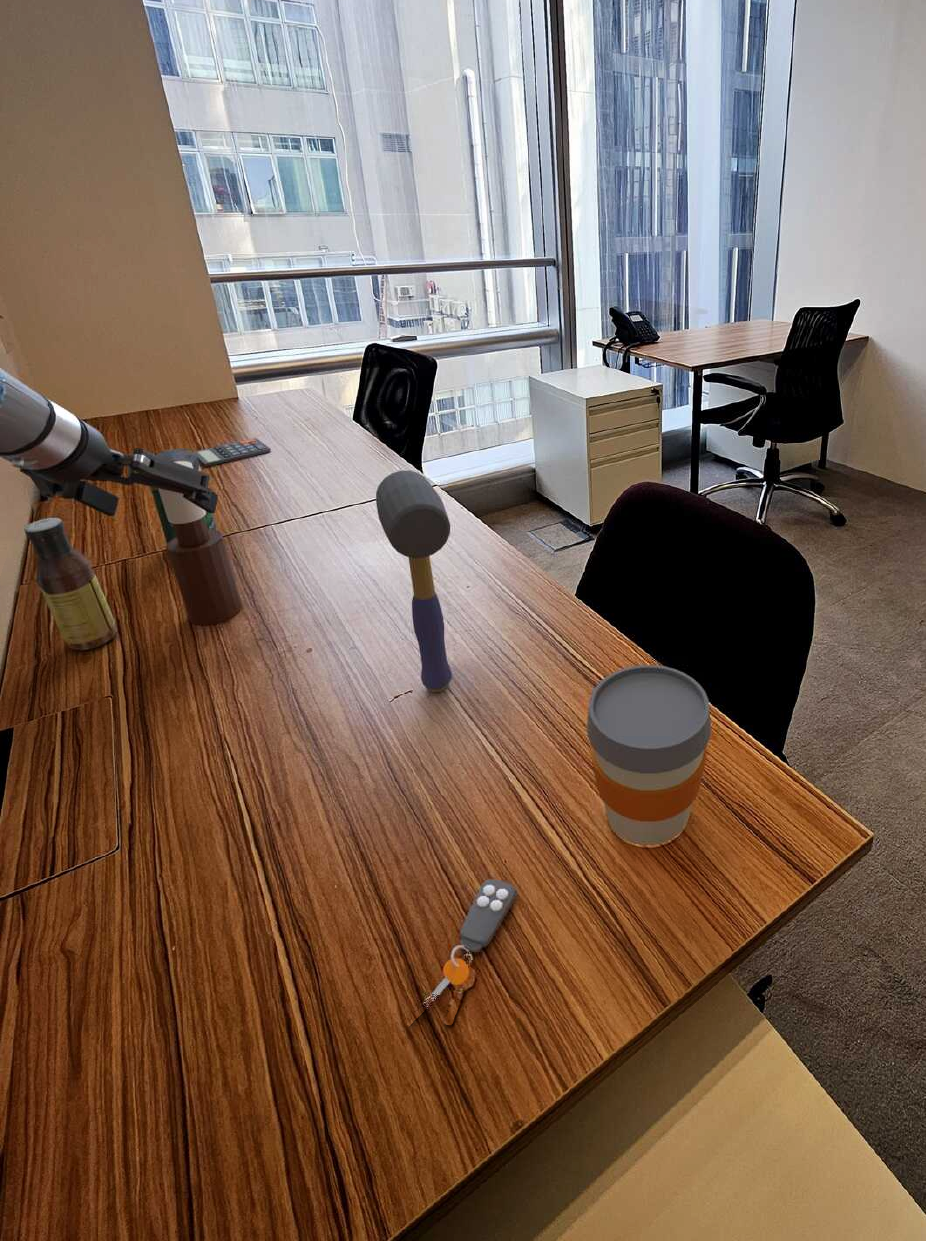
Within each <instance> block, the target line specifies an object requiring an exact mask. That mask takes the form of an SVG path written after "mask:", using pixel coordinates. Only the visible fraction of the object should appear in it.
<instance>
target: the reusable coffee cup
mask: <svg viewBox="0 0 926 1241" xmlns="http://www.w3.org/2000/svg"><path fill="white" fill-rule="evenodd" d="M710 709H711V708H710V702H709V698H708V696H707V693H706V691H705V689H704V688H703V687H702V685H701V684H700V683H699V682H698V681H696V680H695V679H694V678H693V677H692V676H690V675H688V674H687V673H685V672H683V671H680V670H678V669H676V668H672V667H669V666H665V665H657V664H639V665H632V666H627V667H623V668H621V669H619V670H615V671H613V672H612V673H610V674H609V675H607V676H605V677H604V678H603V679H601V681H599V682H598V683H597V684H596V685H595V687H594V689H593V690H592V692H591V694H590V697H589V702H588V711H587V720H586V721H587V722H586V733H587V739H588V741H589V743H590V748H589V752H590V759H591V764H592V769H593V775H594V778H595V779H594V780H595V783H596V788H597V792H598V793H599V796H600V798H601V799H602V801H603V804H604V808H605V813H606V818H607V819H606V820H607V822H608V821H609V823H610V825H609V827H610V826H611V827H612V828H613V830H614V831H615V832H616V833H617V834H618V835H619V836H620V837H621V838H623V839H625V840H626V841H628V842H631V843H634V844H639V845H655V844H661V843H664V842H667V841H669V840H671V839H672V838H674V837H675V836H677V835H678V834H679V833H680V832H681V831H682V830H683V829H684V827H685V826H686V824H687V825H688V823H689V820H688V819H690V814H691V810H692V806H693V803H694V801H695V800H696V799H697V796H698V794H699V792H700V789H701V784H702V781H703V780H702V779H703V775H704V770H705V766H706V761H707V756H708V743H709V741H710V739H711V733H712V723H711V711H710ZM687 822H688V823H687ZM609 823H608V824H609ZM611 827H610V828H611ZM686 827H687V826H686Z"/></svg>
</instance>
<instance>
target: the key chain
mask: <svg viewBox="0 0 926 1241" xmlns="http://www.w3.org/2000/svg"><path fill="white" fill-rule="evenodd" d="M516 897H517V889H516V887H515V886H514V885H513V884H511V883H509V882H506V881H503V880H500V879H495V878H490V879H485V881H483V883H482V885H481V886H480V888H479V890H478V892H477V894H476V896H475V898H474V901H473V902H472V904H471V907H470V909H469V911H468V913H467V915H466V917H465V919H464V921H463V923H462V926H461V929H460V932H459V936H460V937H459V938H460V941H459V944H458V945H457V946H455V947H454V948H453V949H452V951H451V954H450V959H449V960H447V961H446V963H445V964H444V966H443V970H442V974H443V977H444V978H443V979H442V980H441V982H440V983H439V984H438V985H437V986H436V987H435V989H434V990H433V992H432V993H430V994H429V995H431V994H434V995H433V996H435V995H436V994H437V995H440V996H441V994H442V993H443V991H444V990H445V989H446V988H447V987H448V986H449V984H452V985H451V986H453V985H455V986H459V985H462V984H463V983H464V982H466V980H467V979H468V977H469V968H468V965H467V964H466V963H467V962H466V961H465V960H464V959H463V960H462V958H459V957H455V953H456V952H457V951H458V950H459V949H463V950H465V951H466V952H467V953H466V954H464V955H463V956H465V955H466V957H469V956H470V957H471V960H473V961H474V958H473V955H472V952H473V953H480V952H482V950H481V949H483V948H482V947H484V946H487V944H488V943H489V941H491V942H492V940H493V939H494V937H495V935H496V934H495V932H496V930H497V928H498V927H499V925H500V923H501V921H502V920H503V918H504V917H505V918H506V916H507V914H508V912H509V911H508V909H509V907H510V906H511V907H512V905H513V904H514V902H515V900H514V899H516ZM513 901H514V902H513ZM512 903H513V904H512ZM511 904H512V905H511ZM511 907H510V908H511ZM509 910H510V909H509ZM507 911H508V912H507ZM506 913H507V914H506ZM505 915H506V916H505ZM505 918H504V919H505ZM503 921H504V920H503ZM503 921H502V922H503ZM501 924H502V923H501ZM500 926H501V925H500ZM499 928H500V927H499ZM499 928H498V929H499ZM497 931H498V930H497ZM496 933H497V932H496ZM494 934H495V935H494ZM493 936H494V937H493ZM492 938H493V939H492ZM491 939H492V940H491ZM489 944H490V943H489ZM489 944H488V945H489ZM487 947H488V946H487ZM484 948H485V947H484ZM469 950H470V951H471V954H468V951H469ZM469 953H470V952H469ZM468 955H469V956H468ZM463 987H464V986H463ZM443 989H444V990H443ZM462 989H463V988H462ZM462 989H460V990H462ZM461 992H462V991H461ZM461 992H459V993H461ZM429 995H428V996H429ZM437 995H436V996H437ZM428 996H427V998H426V999H425V1000H427V999H429V998H430V997H431V996H432V995H431V996H429V997H428ZM436 996H435V997H436ZM435 997H433V998H431V999H434V998H435ZM435 1000H437V999H436V998H435ZM435 1000H432V1001H433V1002H435ZM427 1001H428V1000H427ZM427 1001H426V1002H427ZM423 1002H424V1001H423ZM423 1002H422V1003H423ZM426 1002H424V1003H426ZM424 1003H423V1004H424ZM427 1007H428V1006H427ZM428 1008H429V1007H428Z"/></svg>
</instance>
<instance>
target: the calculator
mask: <svg viewBox="0 0 926 1241" xmlns="http://www.w3.org/2000/svg"><path fill="white" fill-rule="evenodd" d="M271 451H272V450H271V447H269V446H268V445H266V444H265V443H264V442H262V441H261V440H259V439H258V438H257V437H253V438H247V439H243V440H240V441H239V440H238V441H235V442H231V443H225V444H222V445H217V446H212V447H209V448H208V447H207V448H203V449H199V450H193V451H192V452H194V453H195V454H196V455H197V459H198V462H199V463H200V464H202V465H203V466H204V467H206V468H207V467H211V466H215V465H220V464H224V463H227V462H232V461H237V460H240V459H244V458H249V457H253V456H259V455H262V454H266V453H270V452H271Z"/></svg>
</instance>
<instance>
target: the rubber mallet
mask: <svg viewBox="0 0 926 1241" xmlns="http://www.w3.org/2000/svg"><path fill="white" fill-rule="evenodd" d="M375 503H376V511H377V515H378V520H379V522H380V525H381V528H382V530H383V532H384V534H385V536H386V538H387V540H388V541H389V544H390V545H391V547H392V548H393V549H394V550H395V551H396V552H397V553H399V554H401V555H402V556H404V557H407V558H408V563H409V564H408V565H409V570H410V578H411V584H412V591H413V595H412V598H411V599H412V600H411V617H412V618H411V619H412V627H413V631H414V634H415V637H416V638H415V639H416V640H417V644H418V649H419V655H420V662H421V672H420V680H421V683H422V685H423V687H425V688H426V689H427V690H429V691H430V692H431V693H438V692H443V691H444V690H445V689H447V688H448V686H449V685H450V682H451V681H452V677H453V672H452V669H451V666H450V664H449V662H448V656H447V651H446V643H445V620H444V616H443V615H444V614H443V610H442V606H441V602H440V599H439V597H438V595H437V593H436V589H435V588H436V587H435V583H434V576H433V570H432V564H431V558H430V556H433V555H434V554H436V553H438V552H439V551H440V550H442V548H443V547H444V546H445V545H446V543H447V542H448V540H449V537H450V534H451V522H450V520H449V515H448V513H447V510H446V508H445V505H444V502H443V500H442V497H441V496H440V494H438V492H437V491H436V489H435V487H433V486H432V485H431V483H430V482H429V481H428V479H427V478H426V477H425V476H423V475H422V474H420V473H419V472H416V471H413V470H397V471H395V472H392V473H390V474H388V475H387V476H386V477H384V478H383V479H382V481H381V482H380V483H379V484H378V487H377V489H376V492H375Z"/></svg>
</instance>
